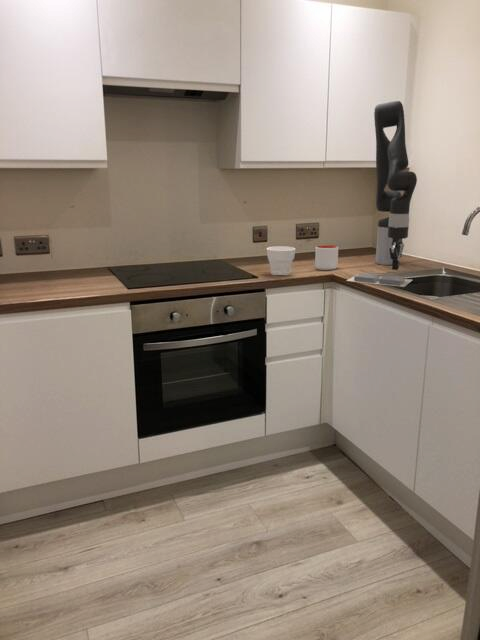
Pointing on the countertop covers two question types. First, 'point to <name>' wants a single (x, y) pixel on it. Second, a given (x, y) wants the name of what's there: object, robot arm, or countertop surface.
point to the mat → (381, 283)
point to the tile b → (392, 280)
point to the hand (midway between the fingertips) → (395, 269)
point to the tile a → (366, 277)
